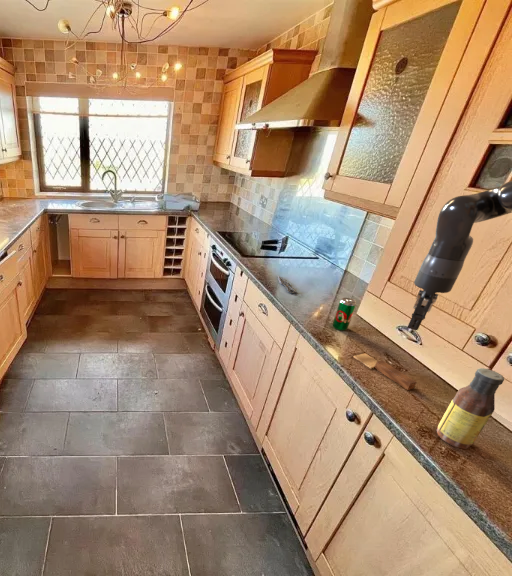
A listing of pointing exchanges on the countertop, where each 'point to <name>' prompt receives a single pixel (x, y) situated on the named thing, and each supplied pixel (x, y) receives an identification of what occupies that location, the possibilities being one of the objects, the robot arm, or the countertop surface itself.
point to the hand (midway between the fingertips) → (414, 322)
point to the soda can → (344, 314)
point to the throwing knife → (286, 285)
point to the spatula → (387, 371)
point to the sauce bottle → (470, 409)
